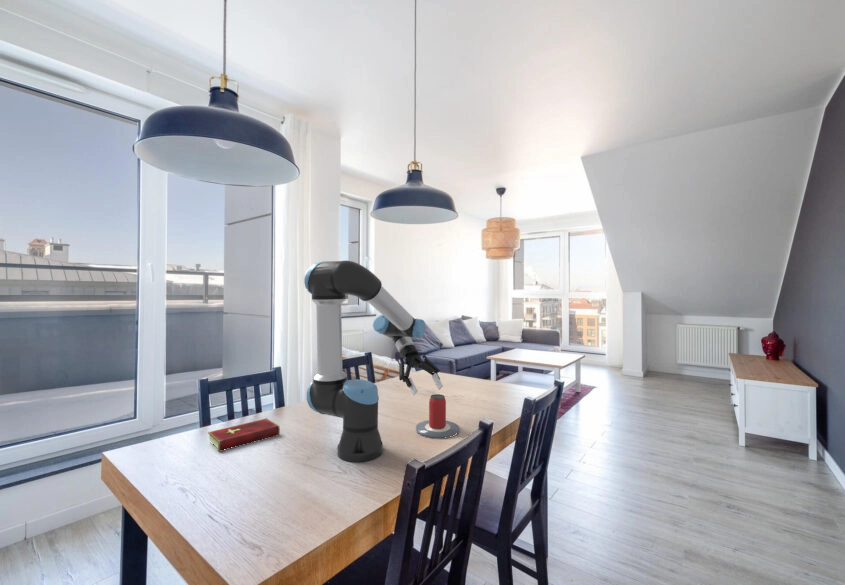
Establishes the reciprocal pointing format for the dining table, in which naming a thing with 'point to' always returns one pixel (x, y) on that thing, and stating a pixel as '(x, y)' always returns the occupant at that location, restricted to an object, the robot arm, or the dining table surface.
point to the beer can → (437, 411)
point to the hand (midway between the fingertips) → (428, 390)
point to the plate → (437, 430)
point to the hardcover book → (243, 433)
